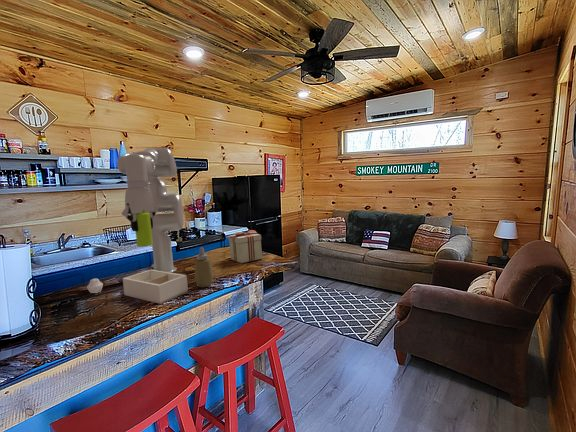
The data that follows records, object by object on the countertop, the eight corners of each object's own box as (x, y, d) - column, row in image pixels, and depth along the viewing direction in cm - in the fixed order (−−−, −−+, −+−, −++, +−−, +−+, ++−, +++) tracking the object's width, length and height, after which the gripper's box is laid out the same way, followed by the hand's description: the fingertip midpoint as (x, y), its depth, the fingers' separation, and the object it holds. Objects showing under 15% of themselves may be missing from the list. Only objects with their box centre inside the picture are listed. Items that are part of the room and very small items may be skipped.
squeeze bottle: (195, 289, 136) (191, 250, 133) (195, 283, 143) (192, 246, 141) (214, 287, 138) (210, 248, 135) (213, 281, 145) (210, 244, 143)
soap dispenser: (147, 242, 131) (143, 196, 128) (155, 244, 126) (150, 196, 124) (133, 245, 126) (128, 197, 124) (140, 247, 122) (135, 197, 119)
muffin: (106, 292, 138) (104, 277, 137) (92, 296, 133) (90, 281, 132) (99, 290, 141) (97, 275, 140) (85, 294, 136) (83, 279, 135)
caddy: (124, 295, 133) (122, 278, 132) (152, 284, 145) (151, 269, 144) (160, 303, 121) (158, 285, 120) (188, 291, 133) (186, 275, 132)
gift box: (248, 254, 198) (246, 227, 195) (264, 258, 183) (262, 230, 181) (224, 259, 187) (222, 231, 185) (239, 264, 173) (237, 235, 171)
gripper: (151, 185, 132) (155, 225, 135) (111, 187, 118) (116, 232, 120) (162, 184, 128) (166, 226, 131) (122, 186, 114) (127, 233, 116)
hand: (142, 229), depth 125 cm, fingers closed on soap dispenser, 5 cm apart
